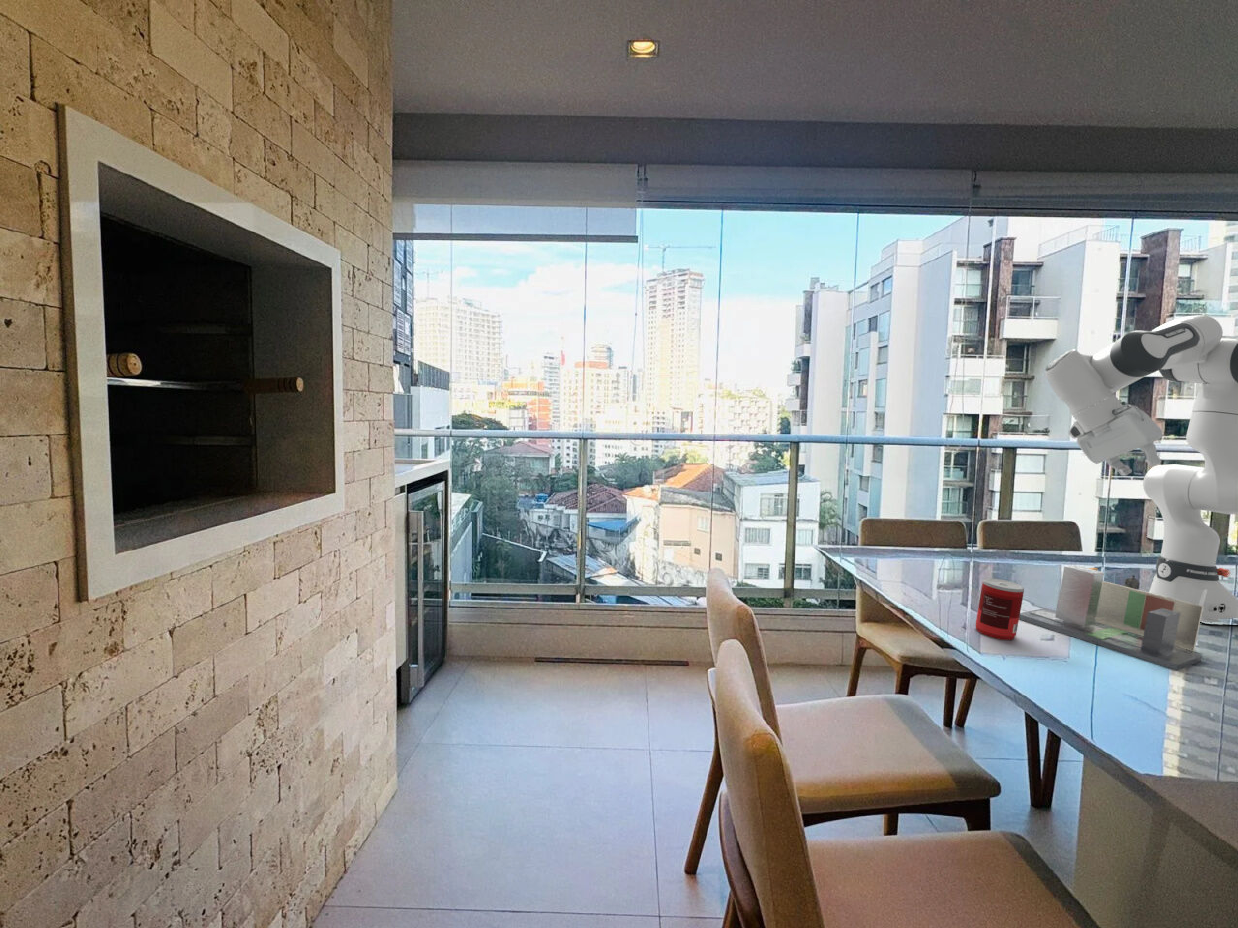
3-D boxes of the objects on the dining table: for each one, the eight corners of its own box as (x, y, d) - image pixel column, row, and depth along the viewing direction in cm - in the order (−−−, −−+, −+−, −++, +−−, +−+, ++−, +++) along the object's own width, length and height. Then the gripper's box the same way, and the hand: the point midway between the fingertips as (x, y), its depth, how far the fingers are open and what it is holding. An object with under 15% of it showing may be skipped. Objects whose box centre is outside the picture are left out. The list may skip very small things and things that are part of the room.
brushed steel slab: (1055, 617, 152) (1064, 566, 150) (1071, 613, 156) (1081, 564, 155) (1084, 626, 147) (1094, 573, 145) (1101, 622, 151) (1110, 571, 150)
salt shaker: (1144, 628, 157) (1154, 579, 156) (1117, 624, 158) (1126, 575, 157) (1131, 620, 163) (1140, 573, 162) (1104, 616, 164) (1113, 569, 163)
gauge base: (1016, 618, 154) (1023, 576, 153) (1058, 609, 166) (1065, 571, 165) (1176, 670, 129) (1186, 621, 128) (1212, 656, 141) (1221, 610, 140)
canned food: (1004, 629, 144) (1013, 580, 143) (1023, 642, 137) (1032, 591, 135) (968, 624, 145) (976, 576, 144) (984, 637, 137) (993, 586, 136)
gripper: (1144, 394, 138) (1188, 450, 135) (1087, 423, 158) (1124, 473, 155) (1118, 408, 138) (1161, 465, 135) (1064, 435, 158) (1100, 485, 155)
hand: (1141, 469), depth 145 cm, fingers open, 8 cm apart
